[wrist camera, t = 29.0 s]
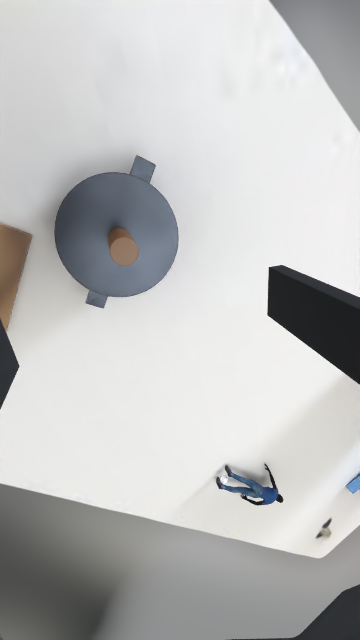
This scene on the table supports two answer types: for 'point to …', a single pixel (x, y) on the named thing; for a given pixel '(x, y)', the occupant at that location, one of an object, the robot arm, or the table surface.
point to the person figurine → (251, 488)
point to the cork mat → (11, 267)
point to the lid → (116, 234)
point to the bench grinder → (354, 485)
